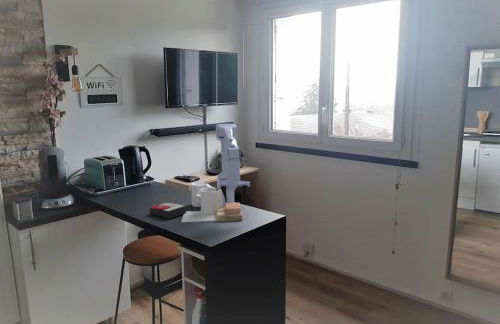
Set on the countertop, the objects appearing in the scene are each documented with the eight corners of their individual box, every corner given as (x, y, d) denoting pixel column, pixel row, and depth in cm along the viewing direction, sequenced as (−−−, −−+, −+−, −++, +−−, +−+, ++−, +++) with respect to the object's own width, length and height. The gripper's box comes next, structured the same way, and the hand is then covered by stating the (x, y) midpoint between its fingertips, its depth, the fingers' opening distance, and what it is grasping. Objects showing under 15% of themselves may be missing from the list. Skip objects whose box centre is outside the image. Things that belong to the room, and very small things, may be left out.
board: (217, 211, 204) (216, 206, 203) (240, 210, 205) (240, 205, 204) (216, 221, 188) (216, 216, 188) (242, 220, 189) (242, 215, 189)
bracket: (188, 204, 218) (187, 183, 216) (205, 202, 223) (204, 181, 221) (205, 217, 196) (204, 193, 194) (223, 213, 201) (222, 190, 199)
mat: (184, 212, 203) (184, 211, 203) (217, 211, 204) (217, 210, 204) (181, 222, 187) (181, 221, 187) (216, 221, 188) (216, 220, 188)
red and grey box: (166, 201, 208) (185, 204, 199) (167, 209, 209) (186, 212, 200) (149, 207, 200) (168, 210, 191) (150, 215, 201) (169, 218, 191)
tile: (225, 207, 201) (225, 203, 200) (239, 207, 201) (239, 202, 201) (226, 213, 191) (226, 208, 191) (240, 213, 192) (240, 208, 191)
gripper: (217, 175, 180) (218, 204, 182) (250, 174, 181) (250, 203, 183) (218, 172, 187) (218, 200, 189) (249, 171, 188) (249, 199, 190)
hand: (234, 201), depth 187 cm, fingers open, 7 cm apart
